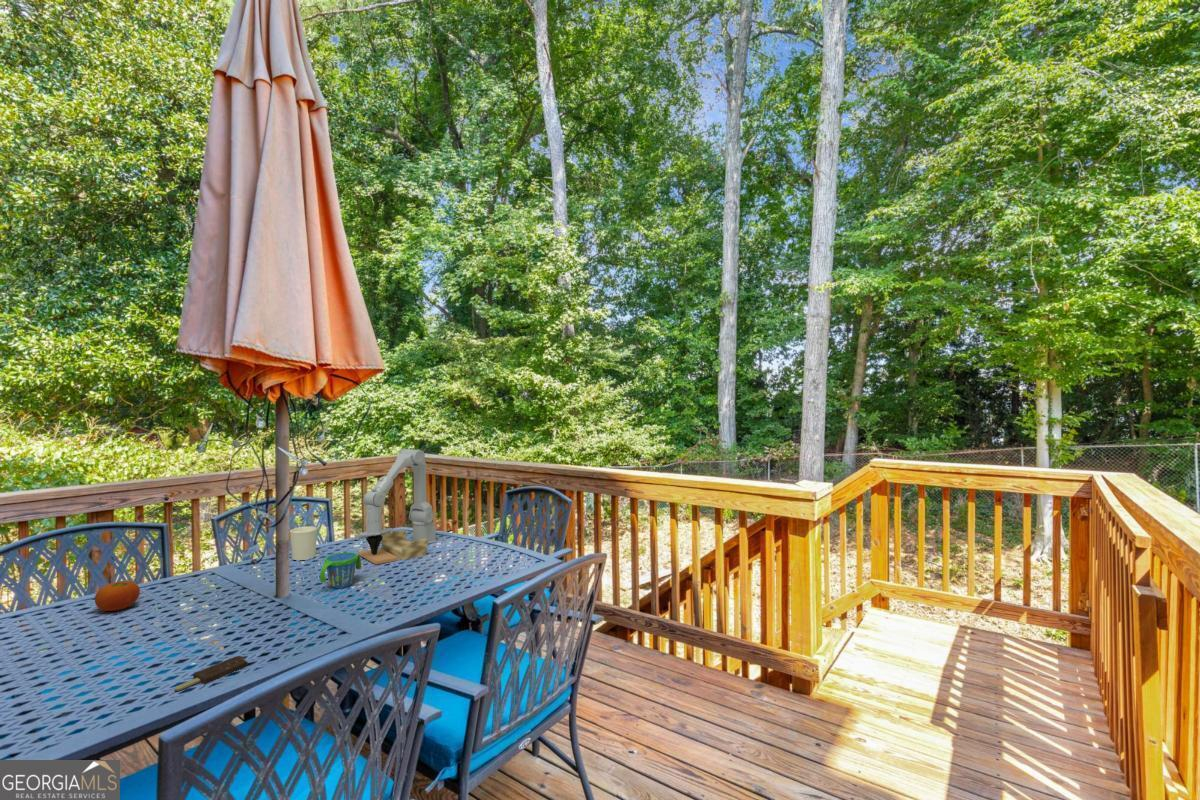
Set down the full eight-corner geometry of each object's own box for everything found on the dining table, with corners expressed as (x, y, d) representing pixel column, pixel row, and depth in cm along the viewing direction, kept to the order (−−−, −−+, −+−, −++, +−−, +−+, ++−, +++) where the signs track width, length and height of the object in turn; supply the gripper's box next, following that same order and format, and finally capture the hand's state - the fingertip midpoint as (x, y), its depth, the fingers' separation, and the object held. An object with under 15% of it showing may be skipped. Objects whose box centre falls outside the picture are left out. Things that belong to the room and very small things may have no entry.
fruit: (94, 608, 164) (94, 582, 164) (138, 599, 172) (138, 575, 172) (95, 618, 157) (95, 592, 157) (141, 609, 164) (141, 583, 164)
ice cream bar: (180, 696, 118) (251, 666, 131) (180, 689, 118) (251, 659, 131) (168, 690, 120) (239, 661, 134) (169, 682, 120) (239, 654, 134)
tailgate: (379, 548, 226) (358, 551, 219) (398, 557, 213) (375, 561, 206) (379, 550, 225) (357, 554, 219) (398, 560, 213) (375, 564, 206)
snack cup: (329, 595, 177) (329, 565, 176) (311, 589, 182) (311, 560, 182) (370, 581, 190) (370, 553, 190) (351, 576, 195) (352, 548, 195)
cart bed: (404, 545, 235) (405, 529, 235) (427, 555, 220) (427, 539, 220) (381, 550, 228) (381, 534, 228) (403, 561, 213) (403, 543, 213)
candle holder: (314, 553, 222) (314, 525, 222) (319, 559, 215) (319, 529, 215) (287, 557, 216) (288, 528, 216) (292, 563, 208) (292, 533, 208)
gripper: (359, 525, 207) (359, 560, 207) (395, 519, 217) (395, 552, 217) (352, 522, 212) (352, 556, 212) (388, 516, 222) (388, 548, 222)
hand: (374, 553), depth 215 cm, fingers closed
